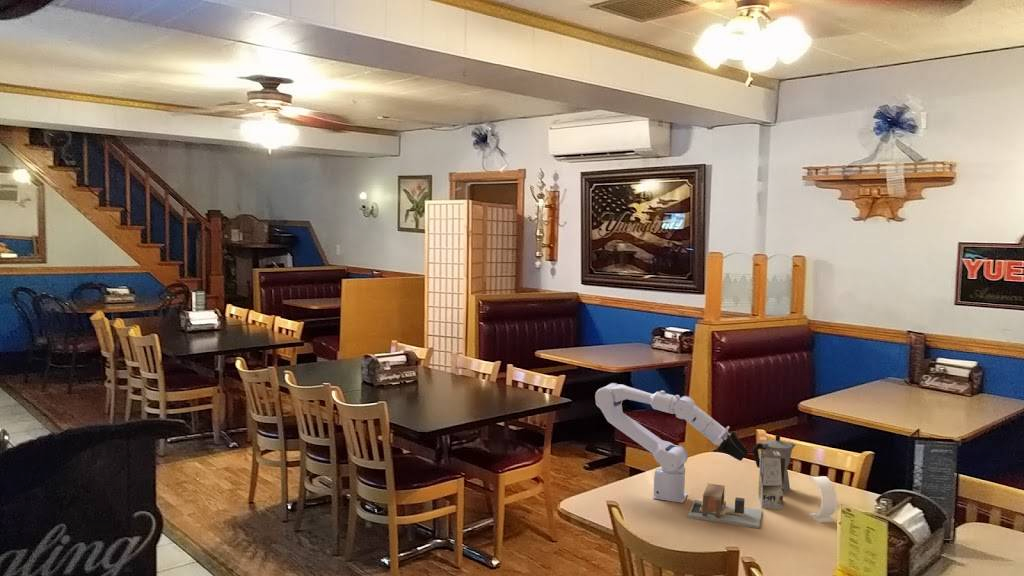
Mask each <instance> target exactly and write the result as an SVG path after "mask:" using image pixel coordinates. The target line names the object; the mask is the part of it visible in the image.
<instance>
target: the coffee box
mask: <svg viewBox="0 0 1024 576" xmlns="http://www.w3.org/2000/svg"><path fill="white" fill-rule="evenodd" d="M759 451H760V452H759V459H760V468H758V469H759V471H758V472H759V473H758V494H757V495H758V496H757V497H758V500H759V504H760V506H761V508H763V509H773V510H783V506H784V505H783V504H784V493H783V489H784V471H785V457H784V455H783V454H782V452H781V450H771V449H767V450H766V449H759Z"/></svg>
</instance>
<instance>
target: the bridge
mask: <svg viewBox="0 0 1024 576" xmlns="http://www.w3.org/2000/svg"><path fill="white" fill-rule="evenodd" d="M725 487H726V485H722V484H716V483H707V485H706V487H705V490H704V493H703V495H702V501H703V511H702V516H707V502H708V499H714V500H716V518H720V511H721V505H723V502H724V501H725Z"/></svg>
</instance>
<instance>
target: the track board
mask: <svg viewBox="0 0 1024 576" xmlns="http://www.w3.org/2000/svg"><path fill="white" fill-rule="evenodd" d="M702 501H703V500H698V499H694V500H693V503H692V504H691V507H690V509H689V512H688V514H687V518H689V519H690V518H691V519H696V520H703V521H708V522H714V523H715V522H716V523H723V524H728V525H735V526H741V527H748V528H753V529H760V525H761V524H760V523H761V519H762V513H763V509H760V508H752V507H747V506H746V507H745V506H744V516H741V515H735V514H728V513H725V515H720V518H716V514H713V513H707V516H702V512H700V508H701V504H702ZM726 506H727V508H728V509H735V505H733V504H726Z"/></svg>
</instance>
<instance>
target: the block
mask: <svg viewBox="0 0 1024 576" xmlns="http://www.w3.org/2000/svg"><path fill="white" fill-rule="evenodd" d="M707 509H708V510H715V511H716V500H714V499H708V502H707Z"/></svg>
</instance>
